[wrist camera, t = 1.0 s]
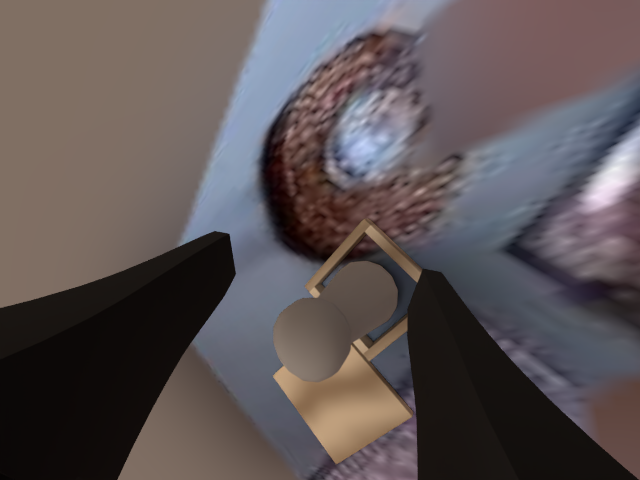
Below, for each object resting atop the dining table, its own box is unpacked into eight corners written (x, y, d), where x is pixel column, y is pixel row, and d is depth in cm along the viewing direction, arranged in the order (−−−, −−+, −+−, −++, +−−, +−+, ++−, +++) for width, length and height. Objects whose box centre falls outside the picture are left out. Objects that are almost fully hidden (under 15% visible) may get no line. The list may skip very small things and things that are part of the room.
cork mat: (413, 412, 24) (412, 416, 23) (338, 459, 28) (336, 464, 27) (332, 317, 27) (329, 320, 26) (275, 373, 31) (272, 376, 30)
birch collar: (447, 293, 22) (447, 298, 20) (373, 353, 25) (369, 361, 24) (369, 218, 24) (364, 218, 23) (311, 282, 28) (304, 286, 26)
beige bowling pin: (348, 317, 26) (263, 396, 14) (338, 261, 26) (245, 295, 14) (408, 316, 23) (362, 414, 12) (397, 253, 23) (340, 289, 12)
